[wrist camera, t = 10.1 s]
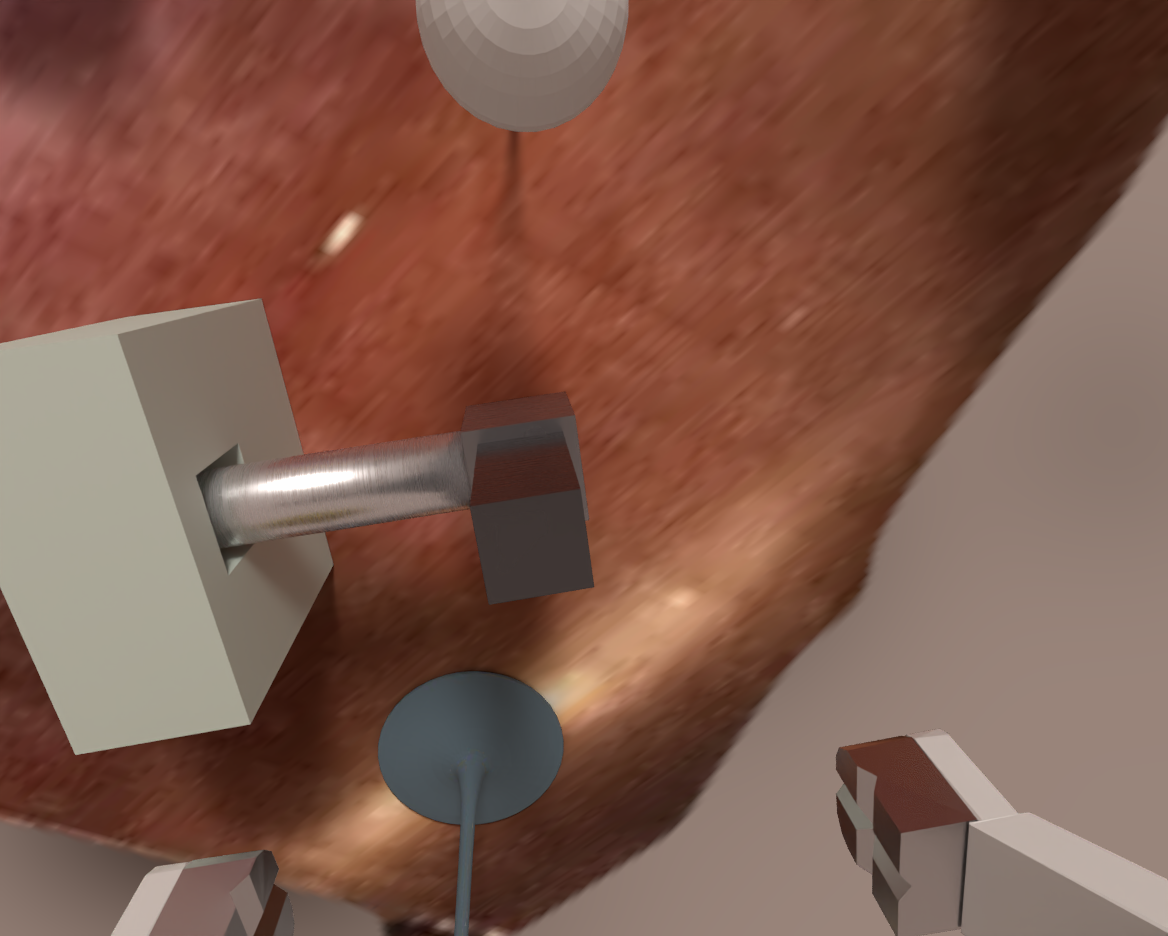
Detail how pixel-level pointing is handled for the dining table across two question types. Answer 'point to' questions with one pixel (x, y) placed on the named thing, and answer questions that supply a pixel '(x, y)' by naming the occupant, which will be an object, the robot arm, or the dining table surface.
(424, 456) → the hammer
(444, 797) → the cocktail glass
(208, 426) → the grey slotted block
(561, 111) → the lollipop
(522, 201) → the dining table surface
